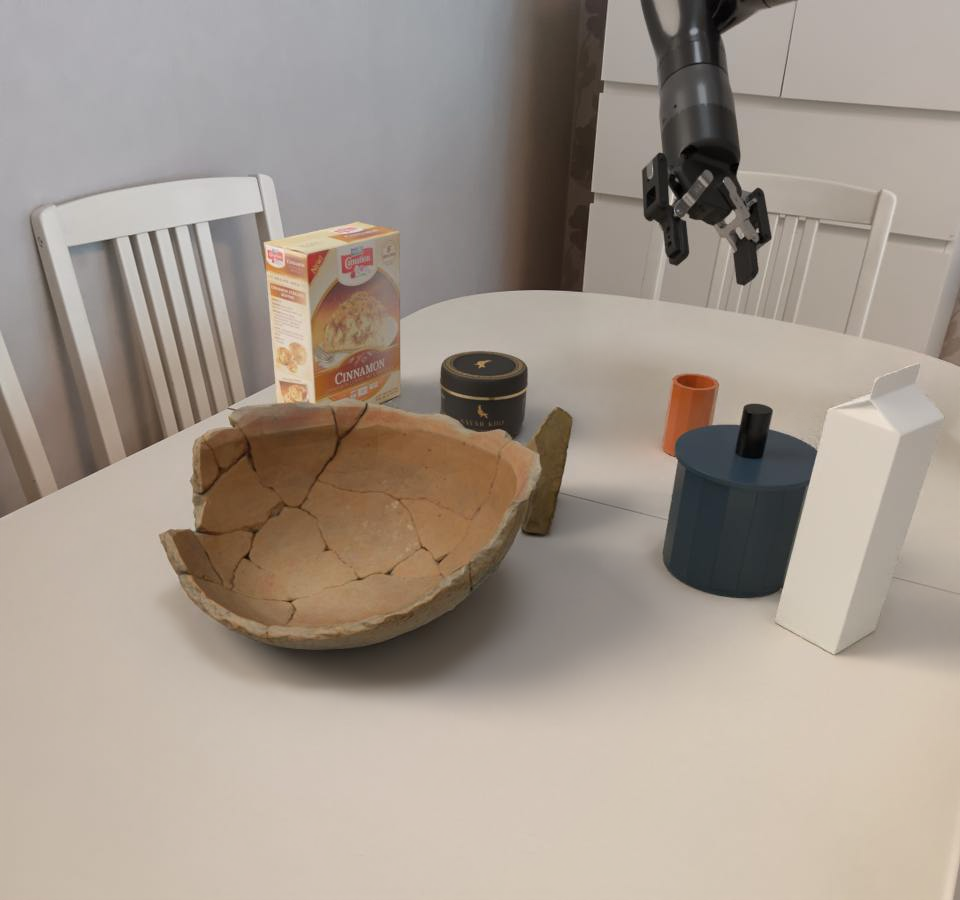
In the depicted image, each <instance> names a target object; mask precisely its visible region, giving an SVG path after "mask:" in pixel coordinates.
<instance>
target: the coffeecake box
mask: <svg viewBox="0 0 960 900" xmlns="http://www.w3.org/2000/svg"><path fill="white" fill-rule="evenodd" d="M400 236H401V231H398V230H395V229H393V228H388V227H384V226H379V225H375V224H370V223H365V222H361V221H355V222H352V223H347V224H341V225H338V226H333V227H328V228H324V229H319V230H314V231H310V232H305V233H301V234H296V235H292V236H286V237H282V238H277V239H272V240H268V241H264V242H263V247H264V248H263V249H264V250H263V251H264V259H265V261H264V262H265V273H266V285H267V297H268V308H269V309H268V311H269V321H270V322H269V323H270V335H271V346H272V358H273V369H274V383H275V395H276V403H292V402H310V403H314V404H319V405H328V404H329V403H332V402H335V401H338V400H340V399H343V398H352V399H357V400H360V401H363V402H366V403H372V404H382V403H384V402H387V401H389V400H391V399H394V398H397V397H399V396H401V395H402V390H401V386H402V384H401V379H402V378H401V373H402V372H401V270H400V269H401V260H400V259H401V254H400V249H401V248H400V247H401V246H400V242H401V239H400Z"/></svg>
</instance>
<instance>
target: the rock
mask: <svg viewBox="0 0 960 900" xmlns="http://www.w3.org/2000/svg"><path fill="white" fill-rule="evenodd" d="M573 419H574V418H573V416H572V415H571V414H570V413H569V412H567V411H565V410H564V409H563V408H561V407H559V406H556V407H554V408H553V409H552V410H551V411H550V413H548V414H547V416H546V418H544V421H543V422H542V423H541V424H540V426H539V427H538V429H537V430H536V432H535V434H533V435H534V436H533V437H531V438H530V440H529V441H528V443H527V444H526V445H523V446H524V447H527V448H529V449H531V450H532V451H534V452H537V453H538V454H540V456H541V457H540V465H541V477H540V480H539V482H538V483H537V485H536V487H535V490H534V491H533V492H532V494H531V495H530V497H529V499H528V501H527V503H526V506H525V512H524V517H523V521H522V524H521V529H522V530H523V531H524V532H525V533H531V534H532V533H533V534H540V535H547V534H548V533H549V531H550V528H551V526H552V521H553V519H554V517H555V514H556V509H557V504H558V499H559V494H560V491H561V487H562V482H563V477H564V474H565V468H566V463H567V458H568V449H569V443H570V439H571V434H572V428H573V425H574V424H573V421H574V420H573Z"/></svg>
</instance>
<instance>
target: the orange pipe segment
mask: <svg viewBox="0 0 960 900" xmlns="http://www.w3.org/2000/svg"><path fill="white" fill-rule="evenodd" d="M719 389H720V383H719V381H718V379H715V378H714V377H711V376H709V375H704V374H700V373H687V372H686V373H680V374H676V375H675V376H674V377H672V378H671V382H670V388H669V395H668V401H667V408H666V414H665V422H664V428H663V433H662V434H663V435H662V444H661V445H662V447H661V448H662V450H663V452H665V454H667V455H669V456H671V457H675V458H676V456H675V453H674V448H675V443H676V441H677V439H678V438H679V437H680V436H681V435H682V434H684V433H686V432H688V431H690V430H692V429H695V428H699V427H704V426H711V425H713V423H714V422H713V421H714V417H715V411H716V405H717V400H718V395H719Z"/></svg>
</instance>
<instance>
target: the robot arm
mask: <svg viewBox="0 0 960 900" xmlns="http://www.w3.org/2000/svg"><path fill="white" fill-rule="evenodd" d="M639 1H640V7H641V11H642V15H643V20H644V23H645V26H646V30H647V32H648V33H647V34H648V36H649V40H650V44H651V46H652V50H653V53H654V56H655V60H656V72H657V83H658V94H659V111H658V118H659V119H658V120H659V129H660V139H661V150H662V152H658V153H657V154H655V156H654V157H652V159H651V160H649V162H647V164H646V165H645V166H644V167H643V168H642V169H641V180H642V181H641V182H642V184H641V185H642V204H643V205H642V206H643V217H644V218H645V220H647V221H648V222H653V221H655V222H656V223H658V227H659V228H660V230H661V231H662V234H663V242H664V252H665V255H666V257H667V259H668V263H669V265H672V266H677V267H678V266H679V265H681V263H683V262H684V261H685V260H686V259H688V257H689V255H690V245H689V236H688V226H687V221H686V220H685V219H683V218H684V217H685V216H686V214H687V215H688V218H689V219H691V220H693V221H702V222H704V223H706V224H707V225H709V226H712V227H713V228H714V229H715V231H716V233H717V234H718V236H719V237H720V238H723V239H726V240H727V242H728V243H729V245H730V247H731V248H732V250H733V251H734V252H733V253H732V255H733V256H732V257H733V263H734V273H735V281H736V284H737V285H740V286H743V287H744V286H747V285H748V284H749V283H751V282H752V281H753V280H754V279H755V278H756V277H757V275H758V274H759V269H760V268H759V262H758V254H757V252H758V250H759V249H761V248H762V247H764V246H765V245H766V244H768V243H769V242H770V241H772V238H773V236H772V229H771V225H770V219H769V213H768V207H767V202H766V195H765V192H764V191H763V189H762V188H760V187H756V188H755V189H754V190H753V191H747V190H744V189H743V188H742V186H741V184H740V182H739V180H738V176H737V175H738V170H739V167H740V163H741V157H742V154H741V147H740V146H741V145H740V138H739V129H738V121H737V112H736V104H735V97H734V93H733V89H732V87H731V83H730V82H731V81H730V78H729V77H730V76H729V68H728V60H727V52H726V48H725V47H726V46H725V43H724V39H723V37H722V35H724V34H725V33H727V32H728V31H730V30H732V29H734V28H735V27H737V26H739V25H740V24H742V23H744V22H746V21H747V20H748V19H750V18H751V17H753V16H754V15H756V14H757V13H759V12H762V11H765V10H768V9H773V8H775V7H779V6H783V5H787V4H791V3H794V2H798V1H799V0H639ZM669 189H670V190H671V192H672V194H673V195H674V197H675V199H674V201H673V203H672V204H670V192H669V191H670V190H669ZM732 212H734V214H735V218H734V219H732V220H731V221H730V222H729V223H726V222H725V219H726V218H727V217H729V216H730V214H732ZM738 228H739V229H740V230H741V233H742V234H743V237H740V236H739V234H738V233H737V229H738ZM757 230H758V232H757Z"/></svg>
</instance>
